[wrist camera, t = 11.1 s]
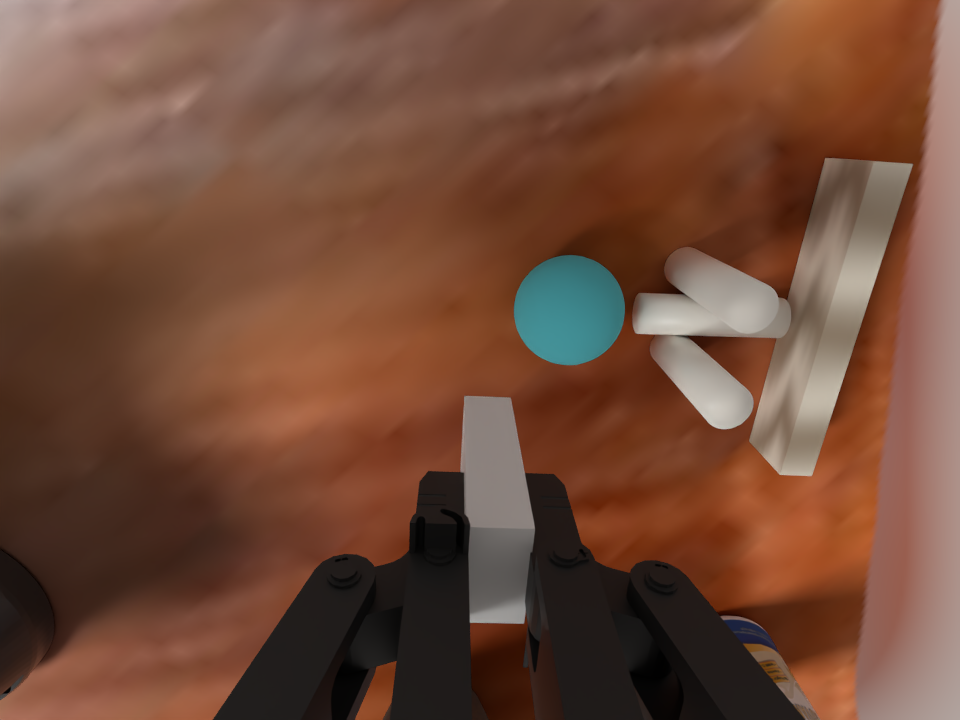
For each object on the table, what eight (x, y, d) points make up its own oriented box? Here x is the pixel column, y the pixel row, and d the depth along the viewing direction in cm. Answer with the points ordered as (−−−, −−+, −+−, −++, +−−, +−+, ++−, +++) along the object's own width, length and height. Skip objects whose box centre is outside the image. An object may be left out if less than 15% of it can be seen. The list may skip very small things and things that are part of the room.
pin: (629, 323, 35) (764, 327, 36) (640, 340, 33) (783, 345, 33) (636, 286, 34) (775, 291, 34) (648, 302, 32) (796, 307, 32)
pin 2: (684, 365, 36) (747, 429, 28) (646, 363, 36) (699, 428, 28) (691, 329, 35) (758, 385, 27) (652, 327, 35) (709, 383, 27)
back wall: (778, 442, 38) (811, 475, 35) (749, 441, 38) (780, 474, 35) (860, 159, 32) (913, 163, 28) (825, 157, 32) (874, 161, 28)
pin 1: (700, 288, 34) (771, 334, 26) (660, 286, 34) (720, 332, 26) (708, 248, 33) (784, 283, 25) (668, 245, 33) (732, 281, 25)
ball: (527, 385, 29) (501, 346, 35) (637, 378, 30) (595, 341, 36) (533, 269, 27) (504, 247, 32) (651, 266, 28) (604, 245, 33)
